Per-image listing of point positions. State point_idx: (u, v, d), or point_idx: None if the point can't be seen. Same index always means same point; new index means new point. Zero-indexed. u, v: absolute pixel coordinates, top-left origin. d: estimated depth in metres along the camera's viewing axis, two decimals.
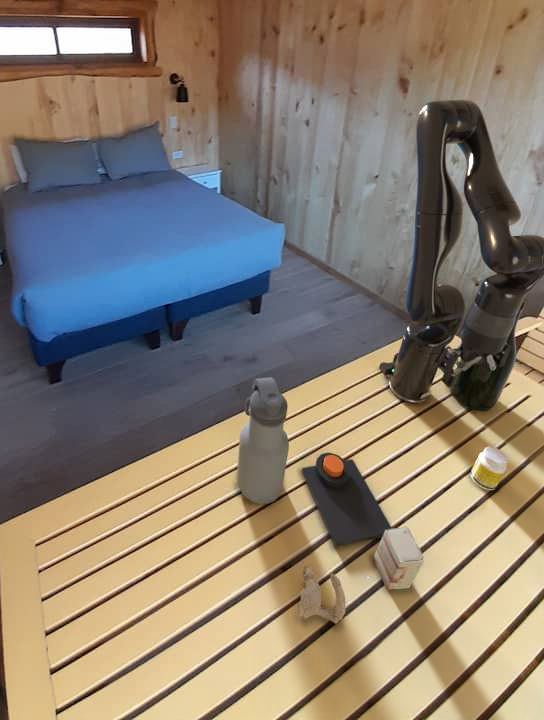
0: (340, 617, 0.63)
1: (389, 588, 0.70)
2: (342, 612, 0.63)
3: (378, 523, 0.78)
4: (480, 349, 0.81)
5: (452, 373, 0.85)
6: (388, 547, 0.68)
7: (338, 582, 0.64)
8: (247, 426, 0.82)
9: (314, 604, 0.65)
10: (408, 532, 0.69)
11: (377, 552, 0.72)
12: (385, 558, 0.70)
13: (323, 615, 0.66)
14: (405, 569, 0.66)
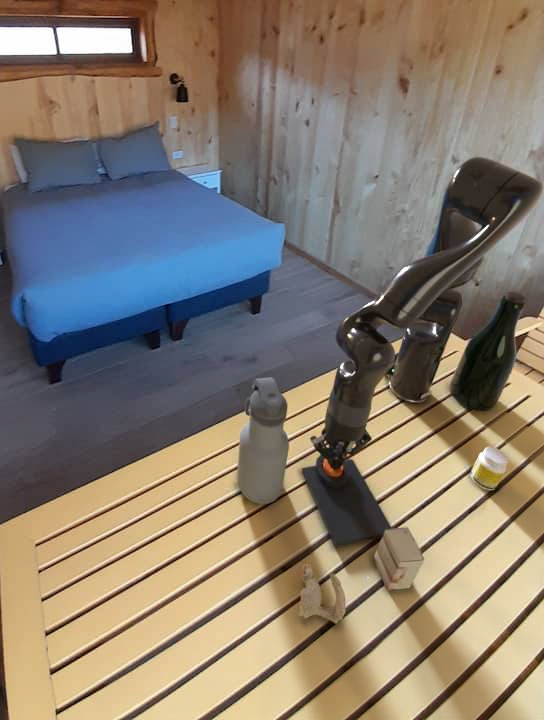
0: (340, 617, 0.63)
1: (389, 588, 0.70)
2: (342, 612, 0.63)
3: (378, 523, 0.78)
4: (338, 436, 0.77)
5: (334, 457, 0.83)
6: (388, 547, 0.68)
7: (338, 582, 0.64)
8: (247, 426, 0.82)
9: (314, 604, 0.65)
10: (408, 532, 0.69)
11: (377, 552, 0.72)
12: (385, 558, 0.70)
13: (323, 615, 0.66)
14: (405, 569, 0.66)
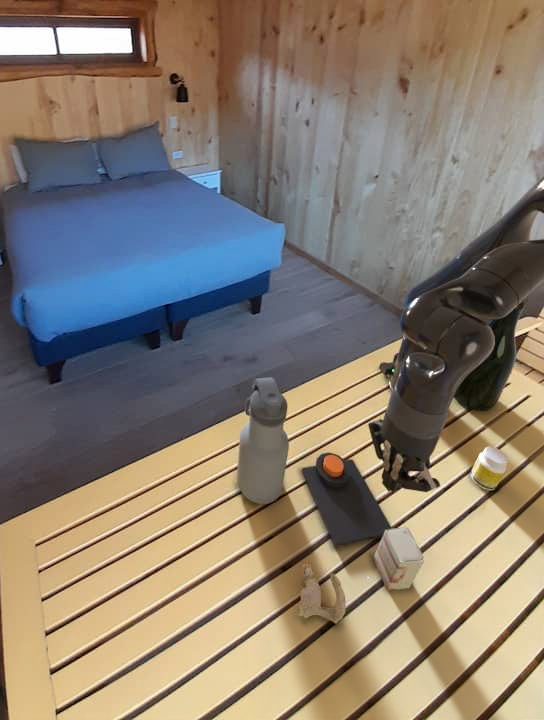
0: (340, 617, 0.63)
1: (389, 588, 0.70)
2: (342, 612, 0.63)
3: (378, 523, 0.78)
4: (382, 423, 0.64)
5: (384, 463, 0.67)
6: (388, 547, 0.68)
7: (338, 582, 0.64)
8: (247, 426, 0.82)
9: (314, 604, 0.65)
10: (408, 532, 0.69)
11: (377, 552, 0.72)
12: (385, 558, 0.70)
13: (323, 615, 0.66)
14: (405, 569, 0.66)
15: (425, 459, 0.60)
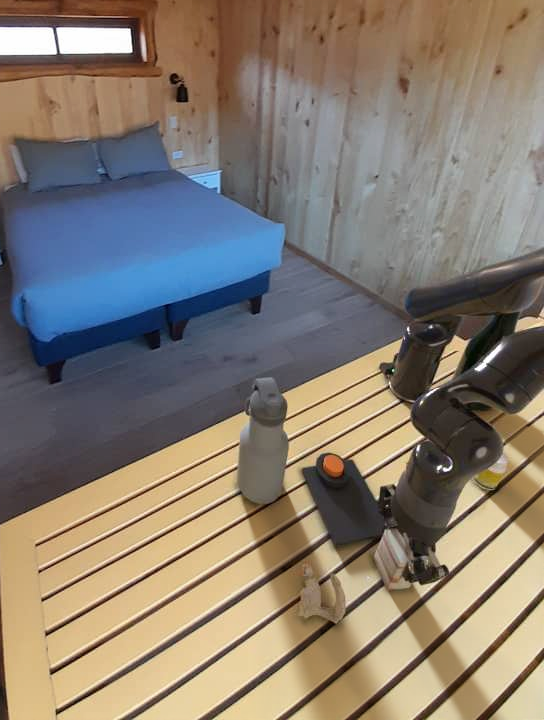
0: (340, 617, 0.63)
1: (389, 588, 0.70)
2: (342, 612, 0.63)
3: (378, 523, 0.78)
4: (391, 499, 0.66)
5: (384, 520, 0.71)
6: (388, 547, 0.69)
7: (338, 582, 0.64)
8: (247, 426, 0.82)
9: (314, 604, 0.65)
10: None
11: (377, 552, 0.72)
12: (385, 558, 0.70)
13: (323, 615, 0.66)
14: (405, 568, 0.66)
15: (430, 545, 0.61)
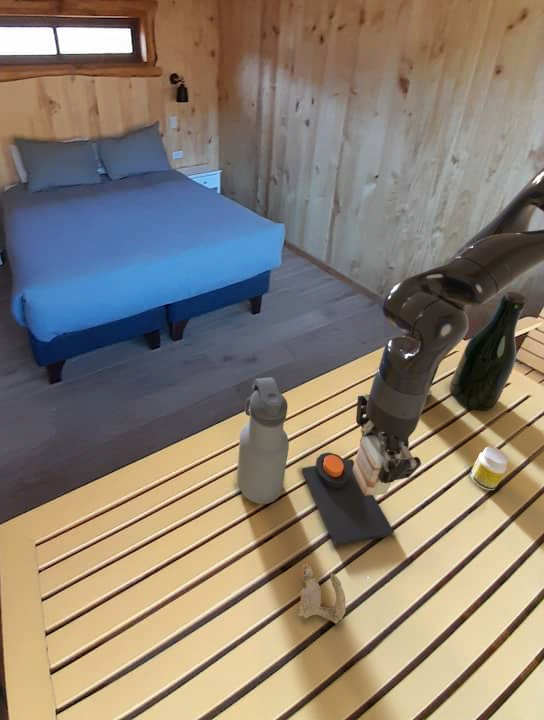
0: (340, 617, 0.63)
1: (366, 494, 0.72)
2: (342, 612, 0.63)
3: (378, 523, 0.78)
4: None
5: (362, 429, 0.73)
6: (365, 452, 0.70)
7: (338, 582, 0.64)
8: (247, 426, 0.82)
9: (314, 604, 0.65)
10: None
11: (355, 462, 0.74)
12: (362, 464, 0.72)
13: (323, 615, 0.66)
14: None
15: (403, 439, 0.63)
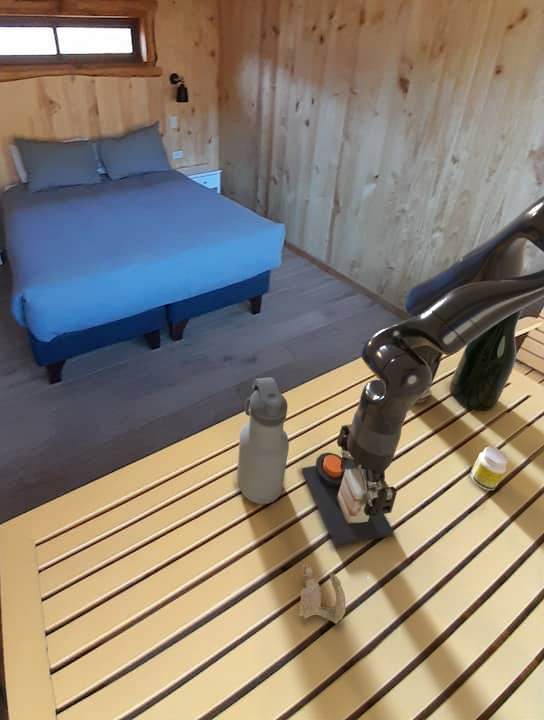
0: (340, 617, 0.63)
1: (349, 522, 0.78)
2: (342, 612, 0.63)
3: (378, 523, 0.78)
4: None
5: (342, 450, 0.80)
6: (347, 484, 0.77)
7: (338, 582, 0.64)
8: (247, 426, 0.82)
9: (314, 604, 0.65)
10: None
11: (339, 491, 0.81)
12: (345, 495, 0.78)
13: (323, 615, 0.66)
14: (361, 501, 0.75)
15: (379, 472, 0.69)
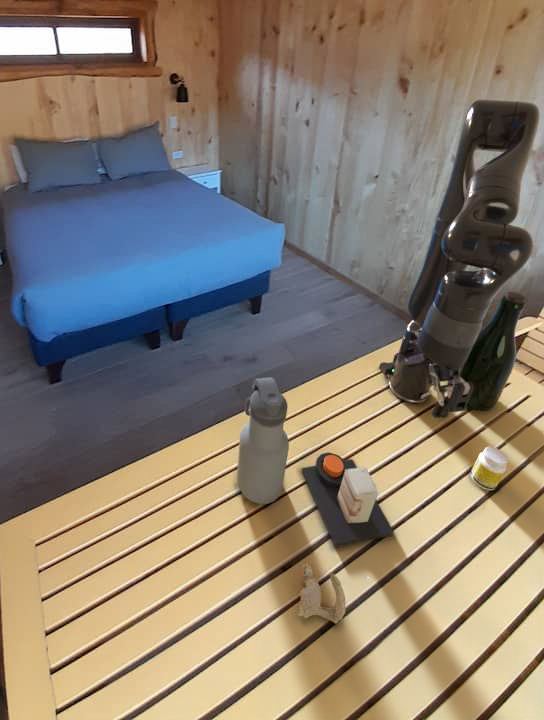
0: (340, 617, 0.63)
1: (349, 522, 0.78)
2: (342, 612, 0.63)
3: (378, 523, 0.78)
4: (418, 337, 0.71)
5: (405, 358, 0.77)
6: (347, 484, 0.77)
7: (338, 582, 0.64)
8: (247, 426, 0.82)
9: (314, 604, 0.65)
10: (365, 471, 0.77)
11: (339, 491, 0.81)
12: (345, 495, 0.78)
13: (323, 615, 0.66)
14: (361, 501, 0.75)
15: (454, 368, 0.66)
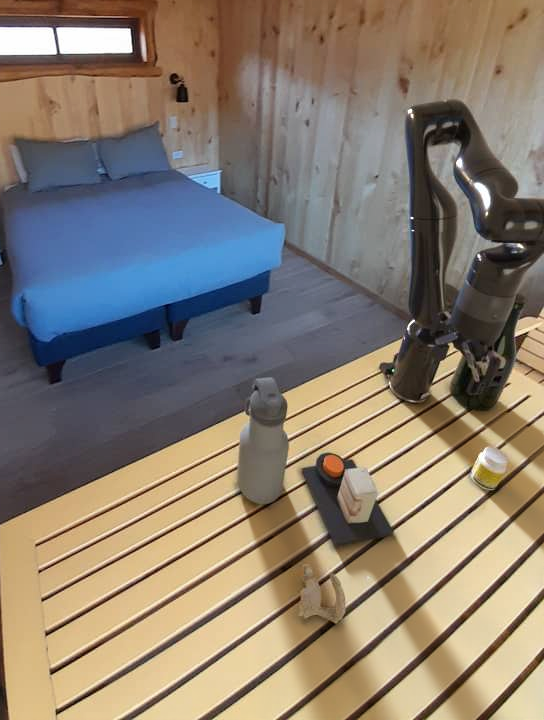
0: (340, 617, 0.63)
1: (349, 522, 0.78)
2: (342, 612, 0.63)
3: (378, 523, 0.78)
4: (450, 316, 0.73)
5: (436, 339, 0.79)
6: (347, 484, 0.77)
7: (338, 582, 0.64)
8: (247, 426, 0.82)
9: (314, 604, 0.65)
10: (365, 471, 0.77)
11: (339, 491, 0.81)
12: (345, 495, 0.78)
13: (323, 615, 0.66)
14: (361, 501, 0.75)
15: (489, 344, 0.68)
